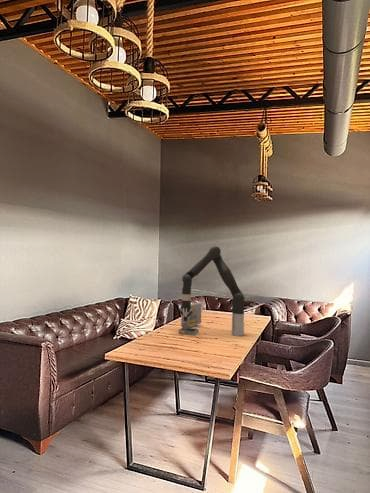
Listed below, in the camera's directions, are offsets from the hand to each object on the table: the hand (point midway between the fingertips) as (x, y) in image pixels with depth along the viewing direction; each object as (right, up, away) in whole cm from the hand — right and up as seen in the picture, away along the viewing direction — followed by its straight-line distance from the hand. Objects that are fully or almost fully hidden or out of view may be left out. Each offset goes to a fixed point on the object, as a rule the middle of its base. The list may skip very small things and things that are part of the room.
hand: (185, 321), depth 313 cm
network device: (+5, -10, +21) cm, 24 cm away
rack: (+3, -10, -1) cm, 10 cm away
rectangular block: (0, -8, 0) cm, 8 cm away
